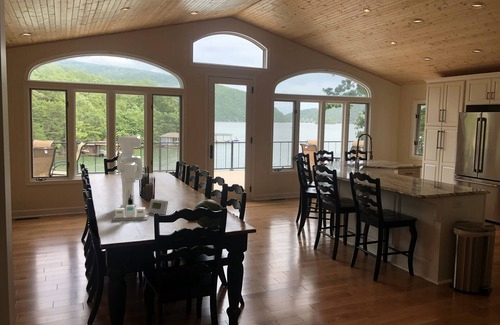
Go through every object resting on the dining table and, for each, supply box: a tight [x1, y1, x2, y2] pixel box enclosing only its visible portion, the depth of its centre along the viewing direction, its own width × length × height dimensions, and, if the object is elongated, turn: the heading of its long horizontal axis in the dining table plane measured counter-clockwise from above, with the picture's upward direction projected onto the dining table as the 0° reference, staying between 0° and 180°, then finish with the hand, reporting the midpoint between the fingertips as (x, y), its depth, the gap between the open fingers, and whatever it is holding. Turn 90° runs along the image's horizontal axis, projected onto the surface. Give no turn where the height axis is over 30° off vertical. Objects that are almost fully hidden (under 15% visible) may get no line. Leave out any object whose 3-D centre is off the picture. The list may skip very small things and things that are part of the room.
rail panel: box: [111, 206, 150, 222], centre depth 299 cm, size 13×25×8 cm, turn 98°
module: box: [125, 205, 136, 217], centre depth 299 cm, size 5×6×8 cm
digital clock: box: [148, 198, 169, 216], centre depth 317 cm, size 16×9×11 cm, turn 55°
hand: (130, 204), depth 298 cm, fingers closed
